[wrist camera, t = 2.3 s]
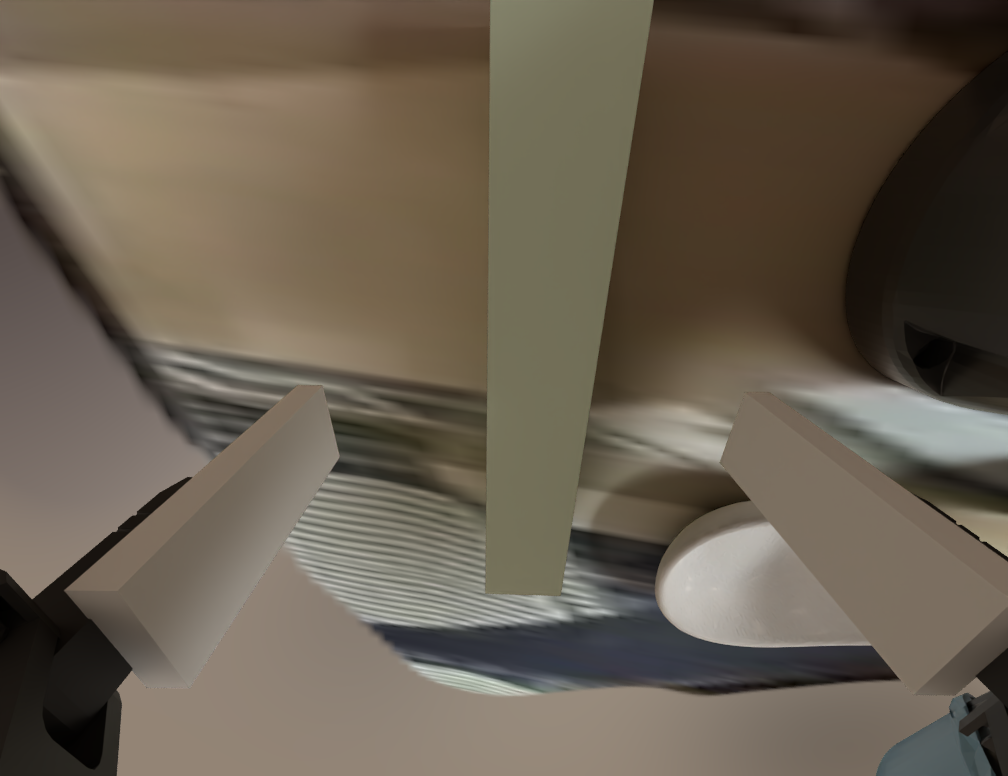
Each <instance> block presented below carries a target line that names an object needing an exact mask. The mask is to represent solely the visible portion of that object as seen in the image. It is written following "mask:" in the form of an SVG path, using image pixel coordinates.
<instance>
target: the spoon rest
mask: <svg viewBox="0 0 1008 776" xmlns="http://www.w3.org/2000/svg"><path fill="white" fill-rule="evenodd" d="M655 596H656V600H657V604H658V606H659V608H660V610H661V612H662V613H663V615H664V616H665V617H666V618H667V619H668V620H669V621H670V622H671V623H672V624H673V625H674V626H676V627H677V628H678V629H680V630H682V631H683V632H685V633H687V634H689V635H692V636H694V637H697V638H700V639H703V640H706V641H710V642H715V643H720V644H727V645H735V646H748V647H802V646H835V645H871V644H870V643H869V641H868V640H867V639H866V638H865V637H864V635H863V634H862V633H861V632H860V631H859V629H858V628H857V627H856V626H855V625H854V623H853V622H852V621H851V620H850V619H849V617H848V616H847V615H846V614H845V613H844V611H843V610H842V609H841V608H840V607H839V605H838V604H837V603H836V602H835V601H834V599H833V598H832V597H831V596H830V595H829V593H828V592H827V591H826V590H825V589H824V587H823V586H822V585H821V584H820V583H819V581H818V580H817V579H816V578H815V577H814V575H813V574H812V573H811V572H810V571H809V569H808V568H807V567H806V566H805V565H804V563H803V562H802V561H801V560H800V558H799V557H798V556H797V555H796V554H795V552H794V551H793V550H792V549H791V548H790V546H789V545H788V544H787V543H786V542H785V540H784V539H783V538H782V537H781V536H780V534H779V533H778V532H777V531H776V530H775V528H774V527H773V526H772V525H771V524H770V522H769V521H768V520H767V519H766V518H765V516H764V515H763V514H762V513H761V512H760V510H759V509H758V508H757V507H756V506H755V504H754V503H753V502H752V501H746V502H740V503H735V504H731V505H728V506H724V507H721V508H718V509H716V510H713V511H711V512H709V513H707V514H705V515H703V516H701V517H699V518H698V519H696V520H695V521H693V522H692V523H690V524H689V525H688V526H687V527H686V528H684V529H683V530H682V531H681V532H680V533H679V534H678V535H677V537H676V538H675V539H674V540H673V542H672V543H671V544H670V546H669V547H668V549H667V550H666V552H665V554H664V555H663V557H662V560H661V562H660V565H659V567H658V572H657V576H656V581H655Z"/></svg>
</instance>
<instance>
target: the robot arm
mask: <svg viewBox="0 0 1008 776" xmlns="http://www.w3.org/2000/svg"><path fill="white" fill-rule="evenodd" d="M846 313H847V319H848V325H849V328H850V332H851V335H852V337H853V340H854V342H855V344H856V346H857V348H858V349H859V351H860V353H861V354H862V355H863V357H864V358H865V359H866V360H867V361H868V362H869V364H870V365H871V366H873V367H874V368H875V369H876V370H877V371H879V372H880V373H882V374H883V375H885V376H886V377H888V378H890V379H892V380H894V381H896V382H898V383H901V384H903V385H905V386H907V387H910V388H912V389H914V390H916V391H919V392H921V393H923V394H925V395H927V396H930V397H932V398H934V399H937V400H939V401H943V402H946V403H949V404H953V405H956V406H959V407H964V408H968V409H973V410H979V411H985V412H991V413H997V414H1003V415H1008V51H1007V52H1006V53H1005V54H1003V55H1002V56H1001V57H1000V58H998V59H997V60H996V61H995V62H993V63H992V64H991V65H989V66H988V67H987V68H986V69H985V70H984V71H982V72H981V73H980V74H979V75H978V76H977V77H975V78H974V79H973V80H972V81H971V82H970V83H969V84H968V85H966V86H965V87H964V88H963V89H962V90H961V91H960V92H959V93H958V94H957V95H956V96H955V97H954V98H953V99H952V100H951V101H950V102H949V103H948V104H947V105H946V106H945V107H944V108H943V109H942V110H941V111H940V112H939V113H938V114H937V115H936V116H935V118H934V119H933V120H932V121H931V122H930V123H929V124H928V125H927V127H926V128H925V129H924V130H923V131H922V132H921V134H920V135H919V136H918V137H917V138H916V140H915V141H914V142H913V143H912V145H911V146H910V147H909V149H908V150H907V151H906V153H905V154H904V155H903V157H902V158H901V159H900V161H899V162H898V164H897V165H896V167H895V168H894V170H893V171H892V173H891V174H890V176H889V177H888V179H887V180H886V182H885V184H884V185H883V187H882V189H881V190H880V192H879V194H878V195H877V197H876V199H875V201H874V203H873V205H872V207H871V209H870V211H869V213H868V215H867V217H866V219H865V221H864V224H863V226H862V228H861V231H860V234H859V236H858V239H857V242H856V245H855V248H854V251H853V254H852V258H851V262H850V266H849V271H848V277H847V285H846ZM339 457H340V456H339V452H338V448H337V443H336V439H335V435H334V431H333V426H332V422H331V418H330V414H329V410H328V405H327V401H326V397H325V393H324V388H323V385H297V386H296V387H295V388H294V389H293V390H292V391H291V392H289V393H288V394H287V395H286V396H285V397H284V398H283V399H281V400H280V401H279V402H278V403H277V404H276V405H275V406H274V407H272V408H271V409H270V410H269V411H268V412H267V413H266V414H264V415H263V416H262V417H261V418H260V419H259V420H258V421H256V422H255V423H254V424H253V425H252V426H251V427H250V428H248V429H247V430H246V431H245V432H244V433H243V434H242V435H241V436H239V437H238V438H237V439H236V440H235V441H234V442H233V443H231V444H230V445H229V446H228V447H227V448H226V449H225V450H223V451H222V452H221V453H220V454H219V455H218V456H217V457H215V458H214V459H213V460H212V461H211V462H210V463H209V464H208V465H206V466H205V467H204V468H203V469H202V470H201V471H200V472H198V473H197V474H196V475H195V476H194V477H187V478H185V479H183V480H181V481H180V482H178V483H176V484H174V485H173V486H171V487H169V488H167V489H165V490H164V491H162V492H160V493H159V494H158V495H156V496H155V497H154V498H153V499H152V500H151V501H149V502H148V503H147V504H146V505H144V506H143V507H142V508H141V509H140V510H139V511H137V515H136V516H131V517H130V518H129V519H128V520H127V521H125V522H124V523H123V524H122V525H121V526H119V527H118V531H117V532H112V533H111V534H110V535H109V536H108V537H106V538H105V539H104V540H103V541H102V542H100V543H99V544H98V545H97V546H95V547H94V548H93V549H92V550H91V551H90V552H89V553H87V554H86V555H85V556H84V557H82V558H81V559H80V560H79V561H78V562H77V563H75V564H74V565H73V566H72V567H70V568H69V569H68V570H67V571H66V572H64V573H63V574H62V575H61V576H60V577H59V578H57V579H56V580H55V581H54V582H53V583H51V584H50V585H49V586H48V587H47V588H45V589H44V590H43V591H42V592H41V593H40V594H38V595H37V596H36V597H35V598H34V599H31V598H30V597H29V596H28V595H27V594H26V593H25V591H24V590H23V589H22V588H21V587H20V586H19V585H18V584H17V583H16V582H15V581H14V580H13V579H12V577H11V576H10V575H9V574H8V573H7V572H5V571H3V570H1V569H0V776H117V763H118V750H119V734H120V722H121V708H122V703H121V699H120V695H119V693H118V692H117V690H116V689H117V688H118V687H119V685H120V684H121V683H122V682H123V681H124V679H125V678H126V677H127V676H128V674H129V673H130V672H131V671H133V672H134V673H135V675H136V676H137V677H138V678H139V679H140V681H141V682H142V683H143V684H144V685H145V686H146V688H190V687H191V686H192V684H193V682H194V681H195V679H196V678H197V676H198V675H199V673H200V672H201V670H202V669H203V667H204V665H205V664H206V662H207V661H208V659H209V658H210V656H211V655H212V653H213V652H214V650H215V648H216V647H217V645H218V644H219V642H220V641H221V639H222V638H223V636H224V635H225V633H226V632H227V630H228V628H229V627H230V625H231V624H232V622H233V621H234V619H235V618H236V616H237V614H238V613H239V612H240V610H241V608H242V606H243V605H244V604H245V602H246V601H247V599H248V598H249V596H250V595H251V593H252V591H253V590H254V588H255V587H256V585H257V584H258V582H259V581H260V579H261V578H262V576H263V575H264V573H265V571H266V570H267V568H268V567H269V565H270V564H271V562H272V561H273V559H274V557H275V556H276V555H277V553H278V551H279V550H280V548H281V547H282V545H283V544H284V542H285V541H286V539H287V538H288V536H289V535H290V533H291V531H292V530H293V528H294V527H295V525H296V524H297V522H298V521H299V519H300V518H301V516H302V514H303V513H304V511H305V510H306V508H307V507H308V505H309V504H310V502H311V501H312V499H313V498H314V496H315V494H316V493H317V491H318V490H319V488H320V487H321V485H322V484H323V482H324V481H325V479H326V477H327V476H328V474H329V473H330V471H331V470H332V468H333V467H334V465H335V464H336V462H337V461H338V459H339ZM720 464H721V465H722V466H723V467H724V468H725V470H726V471H727V472H728V473H729V474H730V476H731V477H732V478H733V479H734V480H735V482H736V483H737V484H738V485H739V486H740V488H741V489H742V490H743V491H744V492H745V494H746V495H747V496H748V497H749V498H750V500H751V501H752V502H753V503H754V504H755V506H756V507H757V508H758V509H759V510H760V512H761V513H762V514H763V515H764V516H765V518H766V519H767V520H768V521H769V522H770V524H771V525H772V526H773V527H774V528H775V530H776V531H777V532H778V533H779V534H780V536H781V537H782V538H783V539H784V540H785V542H786V543H787V544H788V545H789V546H790V548H791V549H792V550H793V551H794V552H795V554H796V555H797V556H798V557H799V558H800V560H801V561H802V562H803V563H804V565H805V566H806V567H807V568H808V569H809V571H810V572H811V573H812V574H813V575H814V577H815V578H816V579H817V580H818V581H819V583H820V584H821V585H822V586H823V587H824V589H825V590H826V591H827V592H828V593H829V595H830V596H831V597H832V598H833V599H834V601H835V602H836V603H837V604H838V605H839V607H840V608H841V609H842V610H843V611H844V613H845V614H846V615H847V616H848V617H849V619H850V620H851V621H852V622H853V623H854V625H855V626H856V627H857V628H858V629H859V631H860V632H861V633H862V634H863V635H864V637H865V638H866V639H867V640H868V641H869V643H870V644H871V645H872V646H873V647H874V649H875V650H876V651H877V652H878V653H879V655H880V656H881V657H882V658H883V659H884V661H885V662H886V663H887V664H888V665H889V667H890V668H891V669H892V670H893V671H894V673H895V674H896V675H897V676H898V677H899V679H900V680H901V681H902V682H903V683H904V685H905V686H906V687H907V688H908V689H909V691H910V692H911V693H912V694H913V695H956V694H957V693H958V692H959V691H961V690H962V689H963V688H964V687H965V686H966V685H968V684H969V683H970V682H971V681H972V680H973V679H975V678H976V677H977V678H978V679H979V680H980V681H981V682H982V683H983V684H984V685H985V686H986V687H987V688H988V689H989V690H990V691H989V692H988V693H985V694H983V695H981V696H979V697H977V698H975V697H973V696H972V695H970V694H969V693H965V694H963V695H960V696H958V697H956V698H953V699H952V701H951V704H950V706H949V709H950V713H949V714H947V715H945V716H943V717H942V718H940V719H938V720H937V721H935V722H933V723H931V724H930V725H928V726H926V727H925V728H923V729H921V730H920V731H918V732H916V733H914V734H913V735H911V736H909V737H907V738H906V739H904V740H902V741H901V742H899V743H897V744H896V745H894V746H893V747H892V748H891V749H890V750H889V751H888V752H887V753H886V754H885V755H884V757H883V758H882V760H881V762H880V764H879V767H878V769H877V773H876V776H1008V557H1007V556H1005V555H1004V554H1002V553H1001V552H1000V551H998V550H997V549H995V548H994V547H992V546H991V545H990V544H988V543H987V542H981V541H980V540H979V537H978V536H977V535H975V534H974V533H972V532H971V531H970V530H968V529H967V528H965V527H964V526H962V525H957V524H956V521H955V520H954V519H953V518H951V517H950V516H948V515H947V514H945V513H944V512H943V511H941V510H940V509H938V508H937V507H935V506H934V505H933V504H931V503H930V502H928V501H926V500H924V499H922V498H920V497H918V496H916V495H914V494H912V493H911V492H909V491H907V490H906V489H905V488H903V487H902V486H900V485H899V484H898V483H896V482H895V481H893V480H892V479H891V478H889V477H888V476H886V475H885V474H884V473H882V472H881V471H879V470H878V469H876V468H875V467H874V466H872V465H871V464H869V463H868V462H867V461H865V460H864V459H862V458H861V457H860V456H858V455H857V454H855V453H854V452H853V451H851V450H850V449H848V448H847V447H846V446H844V445H843V444H841V443H840V442H838V441H837V440H836V439H834V438H833V437H831V436H830V435H829V434H827V433H826V432H824V431H823V430H822V429H820V428H819V427H817V426H816V425H815V424H813V423H812V422H810V421H809V420H808V419H806V418H805V417H803V416H802V415H801V414H799V413H798V412H796V411H795V410H793V409H792V408H791V407H789V406H788V405H786V404H785V403H784V402H782V401H781V400H779V399H778V398H777V397H775V396H774V395H772V394H771V393H763V392H745V394H744V397H743V400H742V403H741V405H740V408H739V411H738V414H737V416H736V419H735V422H734V425H733V427H732V430H731V433H730V435H729V438H728V441H727V444H726V446H725V449H724V452H723V455H722V457H721V460H720Z"/></svg>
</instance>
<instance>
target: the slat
mask: <svg viewBox="0 0 1008 776" xmlns="http://www.w3.org/2000/svg"><path fill="white" fill-rule="evenodd" d="M653 3H654V0H490V98H489V219H488V341H487V462H486V583H485V594H515V595H548V596H561V590H562V583H563V577H564V571H565V564H566V558H567V551H568V545H569V539H570V532H571V526H572V520H573V513H574V507H575V500H576V494H577V488H578V481H579V475H580V468H581V462H582V456H583V449H584V443H585V437H586V430H587V424H588V417H589V411H590V405H591V398H592V392H593V386H594V379H595V373H596V366H597V360H598V354H599V347H600V341H601V334H602V328H603V322H604V315H605V309H606V303H607V296H608V290H609V283H610V277H611V271H612V264H613V258H614V251H615V245H616V239H617V232H618V226H619V220H620V213H621V207H622V200H623V194H624V188H625V181H626V175H627V168H628V162H629V156H630V149H631V143H632V137H633V130H634V124H635V117H636V111H637V105H638V98H639V92H640V86H641V79H642V73H643V66H644V60H645V54H646V47H647V41H648V34H649V28H650V22H651V15H652V9H653Z"/></svg>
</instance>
